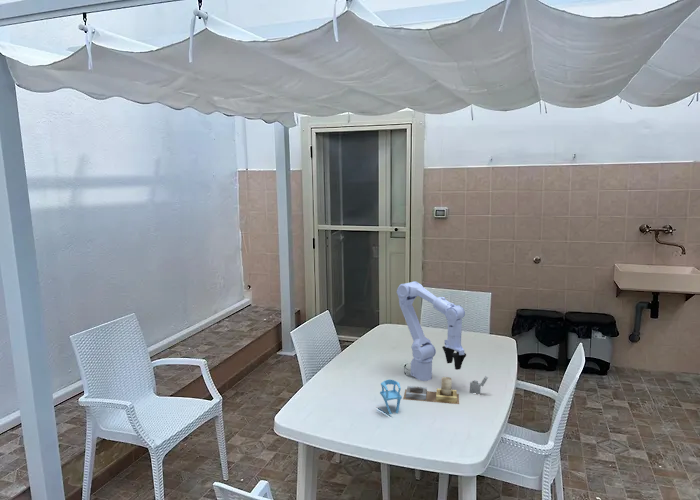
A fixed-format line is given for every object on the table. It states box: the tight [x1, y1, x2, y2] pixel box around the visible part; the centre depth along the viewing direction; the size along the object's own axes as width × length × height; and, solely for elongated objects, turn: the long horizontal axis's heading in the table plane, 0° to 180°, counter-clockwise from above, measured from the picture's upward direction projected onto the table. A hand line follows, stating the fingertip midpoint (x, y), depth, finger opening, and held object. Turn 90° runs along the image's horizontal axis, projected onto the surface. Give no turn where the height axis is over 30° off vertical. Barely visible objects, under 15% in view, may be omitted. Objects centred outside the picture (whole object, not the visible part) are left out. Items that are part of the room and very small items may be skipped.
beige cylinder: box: [440, 376, 453, 396], centre depth 202 cm, size 4×4×8 cm
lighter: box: [469, 375, 489, 395], centre depth 208 cm, size 7×2×8 cm, turn 63°
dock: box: [402, 385, 460, 405], centre depth 203 cm, size 22×10×3 cm, turn 79°
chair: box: [377, 379, 403, 418], centre depth 191 cm, size 8×8×12 cm
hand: (453, 366), depth 211 cm, fingers open, 7 cm apart
